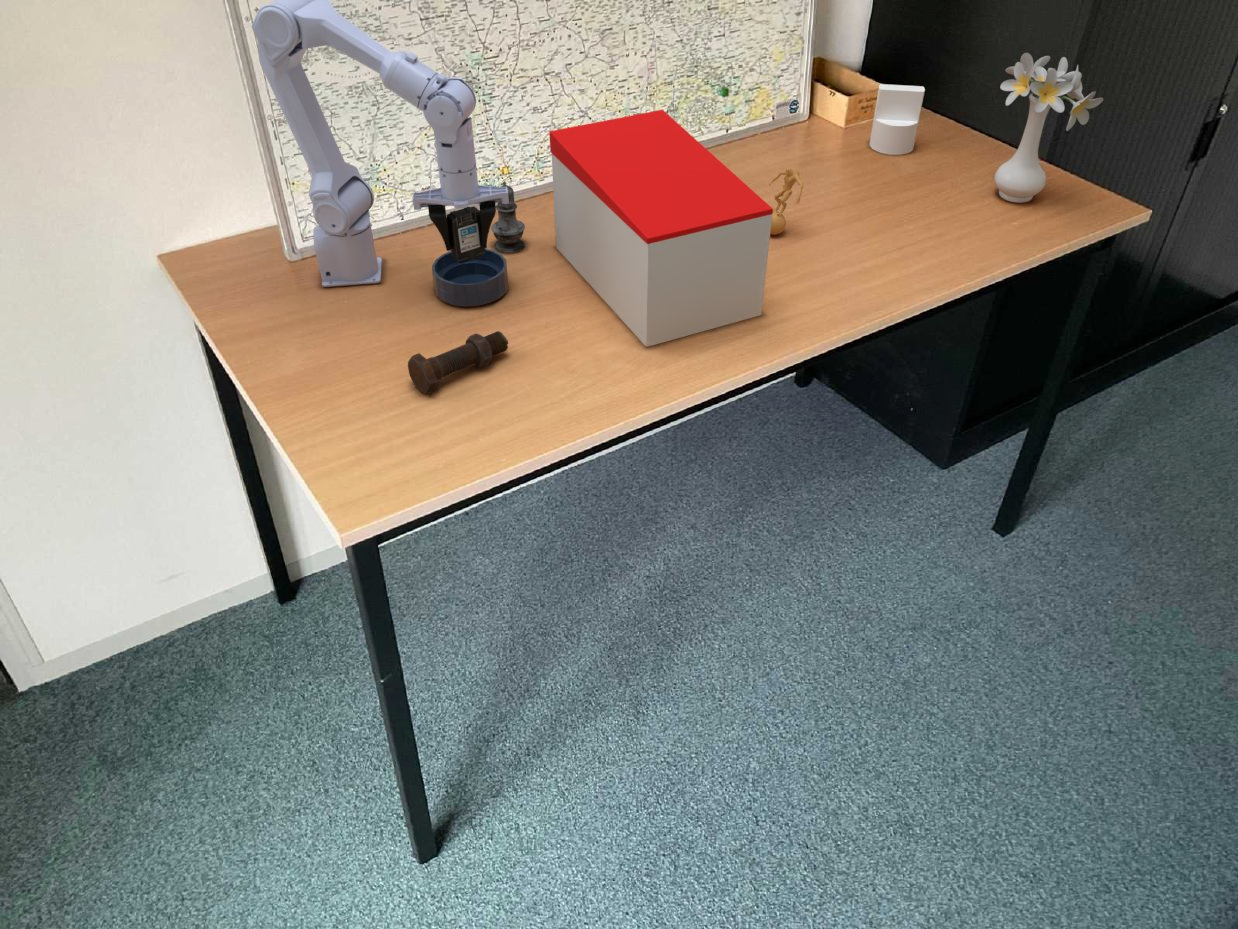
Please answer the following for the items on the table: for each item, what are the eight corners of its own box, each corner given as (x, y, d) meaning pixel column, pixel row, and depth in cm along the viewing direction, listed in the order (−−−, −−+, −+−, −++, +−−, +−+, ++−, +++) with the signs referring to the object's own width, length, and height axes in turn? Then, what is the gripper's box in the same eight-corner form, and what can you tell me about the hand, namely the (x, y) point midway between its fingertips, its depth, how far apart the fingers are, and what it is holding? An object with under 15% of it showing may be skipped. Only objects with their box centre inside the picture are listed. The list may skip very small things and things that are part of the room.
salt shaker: (521, 255, 174) (516, 190, 166) (488, 251, 175) (482, 187, 167) (530, 239, 178) (525, 175, 171) (498, 236, 179) (492, 172, 171)
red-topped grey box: (658, 222, 183) (661, 108, 170) (761, 314, 159) (774, 191, 146) (554, 246, 176) (548, 130, 163) (645, 347, 152) (647, 221, 139)
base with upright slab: (869, 153, 206) (879, 94, 198) (868, 135, 212) (878, 78, 205) (914, 156, 205) (926, 97, 197) (912, 138, 211) (923, 80, 203)
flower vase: (1044, 224, 182) (1085, 86, 166) (958, 190, 193) (989, 56, 176) (1082, 203, 189) (1126, 67, 172) (997, 170, 199) (1030, 40, 183)
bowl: (435, 311, 160) (432, 287, 157) (435, 273, 169) (431, 249, 166) (510, 305, 162) (508, 281, 159) (506, 268, 171) (504, 244, 168)
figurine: (750, 226, 182) (756, 163, 174) (777, 218, 184) (784, 155, 176) (778, 245, 176) (785, 181, 169) (805, 237, 179) (814, 173, 171)
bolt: (507, 363, 152) (422, 400, 145) (489, 337, 153) (404, 372, 146) (517, 343, 147) (430, 380, 140) (499, 316, 148) (411, 351, 141)
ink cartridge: (458, 264, 160) (452, 218, 154) (452, 259, 161) (445, 213, 156) (486, 255, 162) (480, 210, 156) (479, 250, 163) (473, 204, 158)
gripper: (407, 179, 147) (420, 262, 156) (506, 173, 149) (513, 255, 158) (408, 159, 153) (420, 240, 162) (504, 153, 154) (510, 234, 163)
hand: (466, 246), depth 160 cm, fingers closed on ink cartridge, 5 cm apart
